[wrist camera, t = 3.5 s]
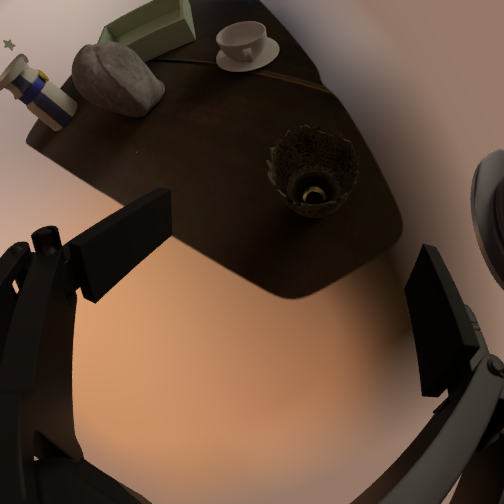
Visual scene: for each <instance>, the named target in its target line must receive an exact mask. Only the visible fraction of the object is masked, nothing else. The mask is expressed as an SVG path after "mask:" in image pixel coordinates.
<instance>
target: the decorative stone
mask: <svg viewBox="0 0 504 504" xmlns="http://www.w3.org/2000/svg"><path fill="white" fill-rule="evenodd" d="M72 78H73V82H74V85H75V87H76V88H77V90H78V92H79V93H80V94H81V95H82V96H83V97H84V98H85V99H86V100H88V101H89V102H90V103H92V104H94V105H96V106H99V107H101V108H104V109H106V110H109V111H113V112H116V113H120V114H123V115H126V116H134V117H142V116H145V115H146V114H147V113H148V112H149V111H150V110H151V109H152V108H153V107H154V106H155V105H156V104H157V103H158V102H159V101H160V99H161V98H162V96H163V94H164V92H165V86H164V84H163V83H162V82H161V81H159V80H157V79H156V78H155V76H154V75H153V73H152V72H151V71H150V69H149V68H148V67H147V65H146V64H145V63H144V62H143V61H142V60H141V58H140V57H139V56H138V55H137V53H135V52H134V51H133V50H132V49H131V48H129V47H127V46H125V45H122V44H120V43H115V42H102V43H98V44H95V45H85V46H84V47H83V48H82V49H81V50H80V51H79V52H78V53H77V55H76V57H75V59H74V62H73V65H72Z"/></svg>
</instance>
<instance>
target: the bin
mask: <svg viewBox="0 0 504 504" xmlns="http://www.w3.org/2000/svg"><path fill="white" fill-rule="evenodd" d="M195 40H196V38H195V32H194V26H193V20H192V13H191V7H190V4H189V2H188V0H153V1H151V2H149V3H147V4H145V5H143V6H141V7H139V8H137V9H135V10H133V11H131V12H129V13H127V14H125V15H123V16H122V17H120V18H118V19H116V20H115V21H113V22H111V23H109V24H108V25H106V26H105V27H104V29H103V31H102V33H101V36H100V38H99V40H98V43H102V42H115V43H120V44H122V45H125V46H127V47H129V48H131V49H132V50H133V51H134V52H135V53H137V55H138V56H139V57H140V58H141V60H142V61H143V62H144V63H145V62H147V61H149V60H151V59H153V58H155V57H157V56H159V55H161V54H164V53H166V52H168V51H170V50H173V49H175V48H177V47H180V46H182V45H185V44H187V43H190V42H192V41H195ZM98 43H97V44H98Z"/></svg>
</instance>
